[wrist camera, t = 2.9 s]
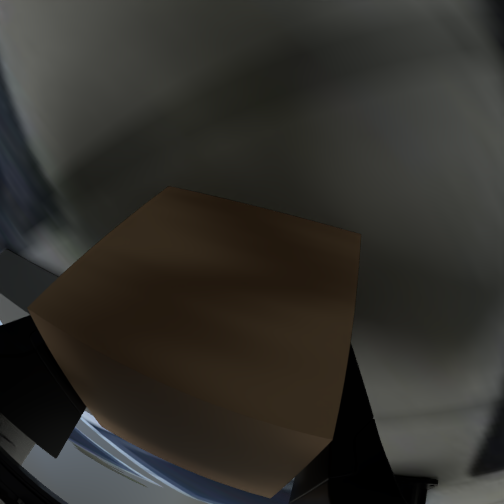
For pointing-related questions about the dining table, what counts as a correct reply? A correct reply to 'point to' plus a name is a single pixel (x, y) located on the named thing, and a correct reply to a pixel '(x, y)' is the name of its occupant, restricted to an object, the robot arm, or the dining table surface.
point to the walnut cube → (210, 335)
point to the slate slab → (20, 286)
